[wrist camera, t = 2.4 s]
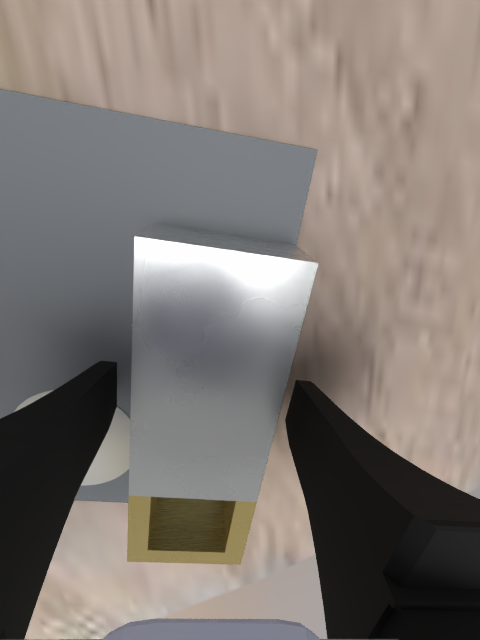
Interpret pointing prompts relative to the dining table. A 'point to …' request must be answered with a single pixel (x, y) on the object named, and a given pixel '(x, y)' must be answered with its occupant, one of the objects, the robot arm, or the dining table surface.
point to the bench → (112, 238)
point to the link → (207, 385)
